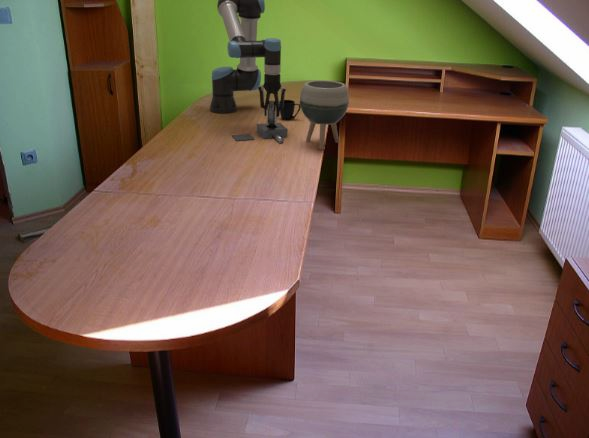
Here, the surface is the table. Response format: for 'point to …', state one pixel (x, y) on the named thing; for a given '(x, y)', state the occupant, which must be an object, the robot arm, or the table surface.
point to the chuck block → (272, 132)
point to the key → (271, 114)
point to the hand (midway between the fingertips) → (271, 122)
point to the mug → (288, 110)
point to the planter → (324, 106)
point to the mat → (242, 137)
